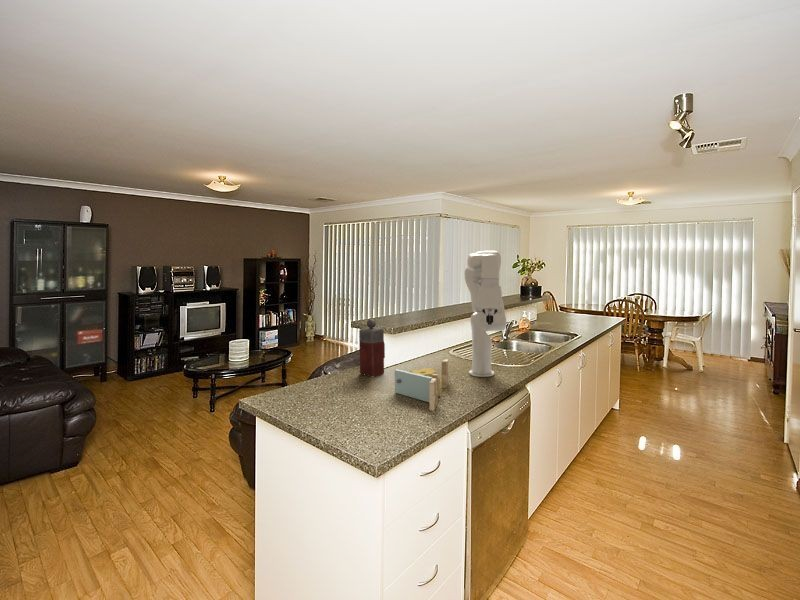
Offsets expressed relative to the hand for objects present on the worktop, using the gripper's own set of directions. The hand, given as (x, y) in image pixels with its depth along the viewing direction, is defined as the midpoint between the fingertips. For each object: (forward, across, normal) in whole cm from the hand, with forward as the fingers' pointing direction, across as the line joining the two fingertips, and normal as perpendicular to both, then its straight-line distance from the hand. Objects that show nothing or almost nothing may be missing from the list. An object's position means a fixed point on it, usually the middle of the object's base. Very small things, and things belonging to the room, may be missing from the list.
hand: (489, 324), depth 189 cm
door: (+29, -30, -20) cm, 46 cm away
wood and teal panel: (+29, -20, -14) cm, 38 cm away
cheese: (+29, -27, -13) cm, 42 cm away
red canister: (+29, -59, +15) cm, 68 cm away
